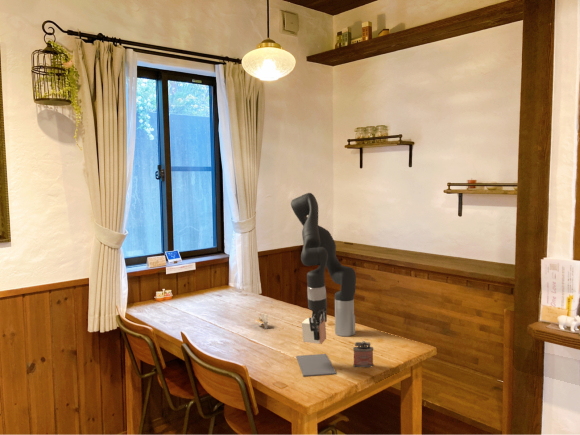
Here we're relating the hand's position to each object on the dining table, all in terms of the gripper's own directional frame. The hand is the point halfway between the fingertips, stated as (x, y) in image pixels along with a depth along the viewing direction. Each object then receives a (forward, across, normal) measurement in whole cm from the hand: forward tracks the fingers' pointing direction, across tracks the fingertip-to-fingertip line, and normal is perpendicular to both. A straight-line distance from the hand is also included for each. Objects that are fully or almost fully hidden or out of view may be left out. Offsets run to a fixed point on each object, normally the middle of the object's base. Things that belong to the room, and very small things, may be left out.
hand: (319, 336), depth 180 cm
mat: (+12, +1, -2) cm, 12 cm away
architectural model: (+13, -32, -44) cm, 56 cm away
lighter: (+13, -5, +16) cm, 21 cm away
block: (-2, 0, -6) cm, 7 cm away
